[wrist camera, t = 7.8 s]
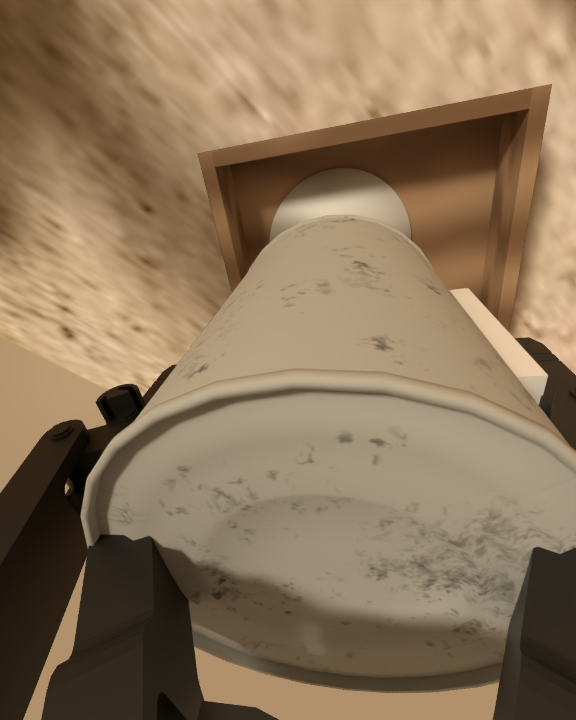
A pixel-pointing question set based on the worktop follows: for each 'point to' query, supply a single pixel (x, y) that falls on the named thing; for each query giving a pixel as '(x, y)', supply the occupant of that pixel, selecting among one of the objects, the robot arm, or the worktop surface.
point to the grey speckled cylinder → (343, 472)
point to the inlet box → (397, 187)
